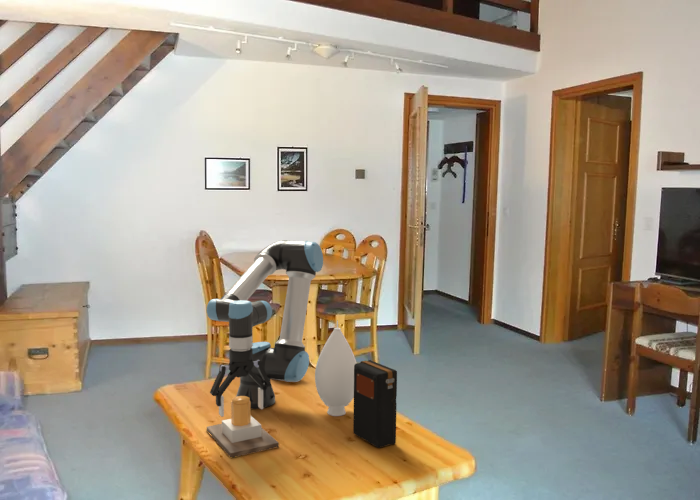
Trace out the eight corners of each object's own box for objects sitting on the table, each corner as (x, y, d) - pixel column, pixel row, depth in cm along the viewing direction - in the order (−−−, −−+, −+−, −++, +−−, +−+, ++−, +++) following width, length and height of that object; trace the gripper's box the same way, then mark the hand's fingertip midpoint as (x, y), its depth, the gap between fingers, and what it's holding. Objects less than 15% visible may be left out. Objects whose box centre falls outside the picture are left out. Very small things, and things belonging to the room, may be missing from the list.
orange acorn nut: (246, 417, 200) (245, 394, 199) (252, 423, 195) (252, 400, 194) (229, 421, 197) (229, 397, 196) (235, 427, 192) (235, 403, 191)
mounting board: (250, 422, 211) (250, 418, 211) (278, 447, 190) (278, 442, 190) (206, 430, 202) (206, 426, 202) (230, 457, 182) (230, 453, 182)
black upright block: (399, 444, 193) (400, 369, 191) (378, 450, 188) (379, 373, 186) (370, 428, 206) (371, 358, 204) (349, 434, 201) (350, 362, 199)
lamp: (309, 408, 225) (309, 317, 221) (347, 403, 231) (348, 314, 228) (324, 423, 210) (324, 326, 207) (364, 417, 216) (366, 322, 213)
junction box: (250, 426, 203) (250, 400, 202) (261, 436, 194) (261, 410, 194) (221, 432, 198) (221, 405, 197) (232, 442, 189) (231, 415, 189)
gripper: (271, 341, 203) (271, 401, 205) (199, 350, 190) (200, 414, 192) (280, 346, 197) (280, 408, 199) (206, 356, 184) (207, 422, 186)
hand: (241, 411), depth 196 cm, fingers open, 13 cm apart
